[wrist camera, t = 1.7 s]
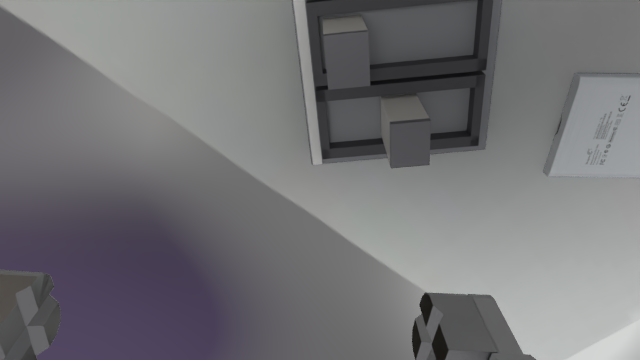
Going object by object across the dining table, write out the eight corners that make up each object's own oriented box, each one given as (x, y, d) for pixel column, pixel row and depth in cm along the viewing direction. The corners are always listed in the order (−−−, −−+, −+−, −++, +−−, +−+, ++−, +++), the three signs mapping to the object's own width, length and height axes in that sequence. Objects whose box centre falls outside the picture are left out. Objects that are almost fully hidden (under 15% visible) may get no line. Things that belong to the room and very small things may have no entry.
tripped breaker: (415, 93, 30) (430, 120, 26) (414, 132, 31) (429, 164, 27) (380, 96, 30) (390, 124, 26) (381, 135, 31) (391, 168, 27)
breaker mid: (360, 14, 27) (368, 31, 23) (362, 61, 29) (370, 85, 25) (322, 18, 27) (323, 35, 23) (326, 65, 29) (328, 89, 25)
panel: (508, -148, 24) (526, -155, 22) (478, 140, 34) (489, 155, 31) (278, -121, 25) (275, -125, 23) (312, 155, 34) (311, 171, 32)
